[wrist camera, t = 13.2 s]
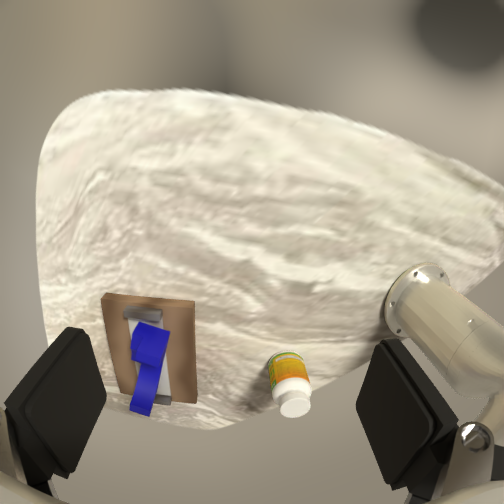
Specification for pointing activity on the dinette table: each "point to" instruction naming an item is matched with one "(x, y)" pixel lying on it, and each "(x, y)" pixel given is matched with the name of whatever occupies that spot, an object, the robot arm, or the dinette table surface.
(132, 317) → the rail board
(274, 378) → the supplement bottle
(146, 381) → the blue curved piece
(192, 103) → the dinette table surface
